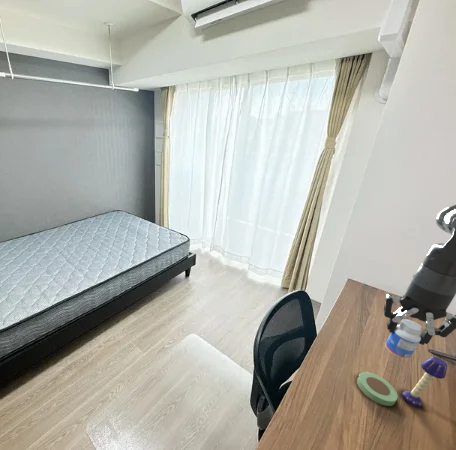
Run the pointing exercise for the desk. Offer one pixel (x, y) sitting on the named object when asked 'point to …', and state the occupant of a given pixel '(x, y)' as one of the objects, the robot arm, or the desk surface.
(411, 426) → the desk surface
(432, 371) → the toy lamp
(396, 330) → the pill bottle
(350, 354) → the desk surface
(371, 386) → the coaster
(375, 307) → the desk surface
